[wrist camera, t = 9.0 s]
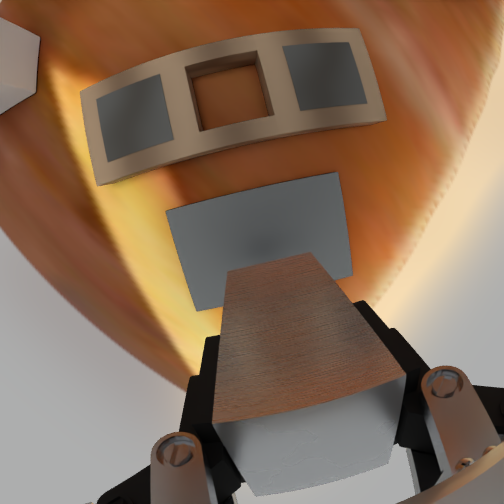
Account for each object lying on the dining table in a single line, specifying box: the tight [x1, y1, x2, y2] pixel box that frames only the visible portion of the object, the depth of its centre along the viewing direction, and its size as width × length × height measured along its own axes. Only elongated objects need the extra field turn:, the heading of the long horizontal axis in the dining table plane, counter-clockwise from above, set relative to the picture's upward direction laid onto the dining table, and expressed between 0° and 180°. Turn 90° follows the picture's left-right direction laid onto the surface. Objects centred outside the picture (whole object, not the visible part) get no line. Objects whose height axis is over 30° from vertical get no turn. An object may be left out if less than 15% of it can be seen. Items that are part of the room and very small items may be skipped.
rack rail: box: [80, 28, 387, 186], centre depth 18 cm, size 22×8×3 cm, turn 103°
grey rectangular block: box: [212, 252, 406, 496], centre depth 10 cm, size 4×4×9 cm
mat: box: [166, 172, 353, 311], centre depth 23 cm, size 14×9×1 cm, turn 103°
